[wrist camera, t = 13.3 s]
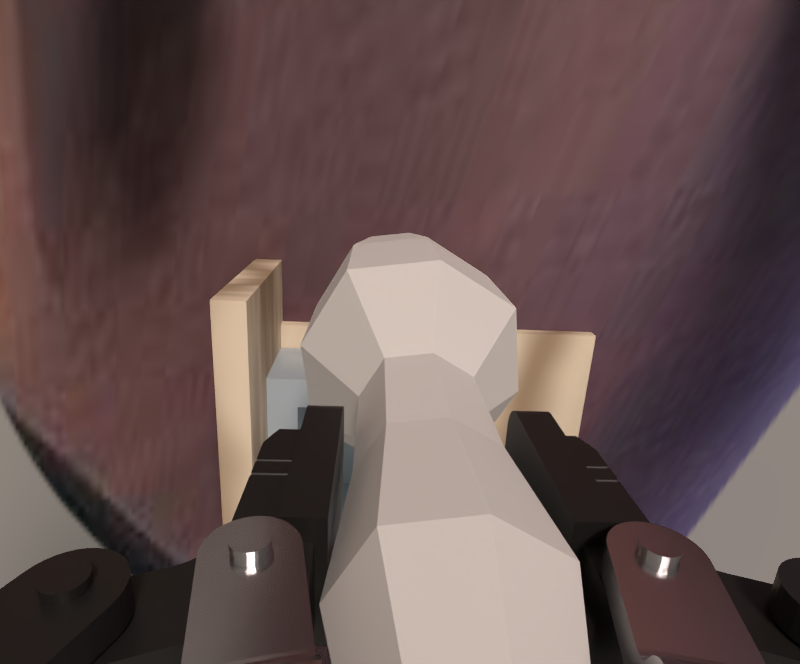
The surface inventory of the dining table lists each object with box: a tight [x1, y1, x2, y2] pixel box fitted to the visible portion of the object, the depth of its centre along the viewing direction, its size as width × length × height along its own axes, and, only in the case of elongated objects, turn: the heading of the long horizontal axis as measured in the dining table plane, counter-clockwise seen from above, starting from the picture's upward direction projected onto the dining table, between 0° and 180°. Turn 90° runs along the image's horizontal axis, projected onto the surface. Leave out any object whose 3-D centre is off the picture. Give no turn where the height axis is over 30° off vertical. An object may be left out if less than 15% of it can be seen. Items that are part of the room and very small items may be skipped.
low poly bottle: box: [300, 233, 591, 664], centre depth 15 cm, size 6×6×22 cm
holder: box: [266, 348, 354, 520], centre depth 34 cm, size 11×11×5 cm
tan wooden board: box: [210, 259, 596, 525], centre depth 33 cm, size 22×22×10 cm
